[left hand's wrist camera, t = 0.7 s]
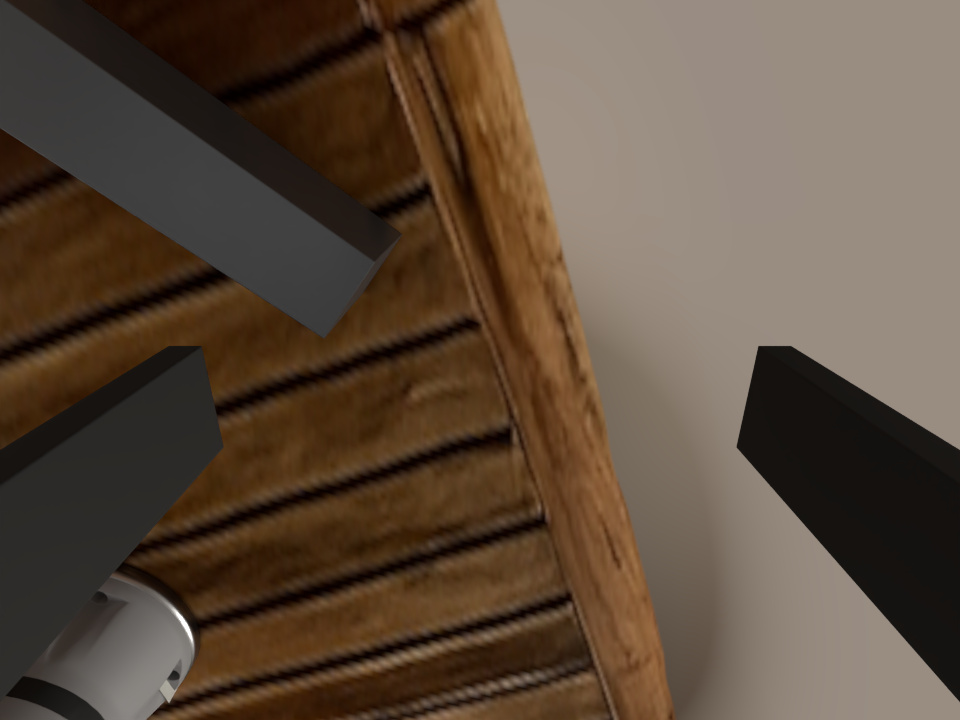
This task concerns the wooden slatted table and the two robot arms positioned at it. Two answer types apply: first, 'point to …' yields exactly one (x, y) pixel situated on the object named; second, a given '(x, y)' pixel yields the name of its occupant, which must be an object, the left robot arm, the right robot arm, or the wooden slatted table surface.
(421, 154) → the wooden slatted table surface
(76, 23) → the bar
